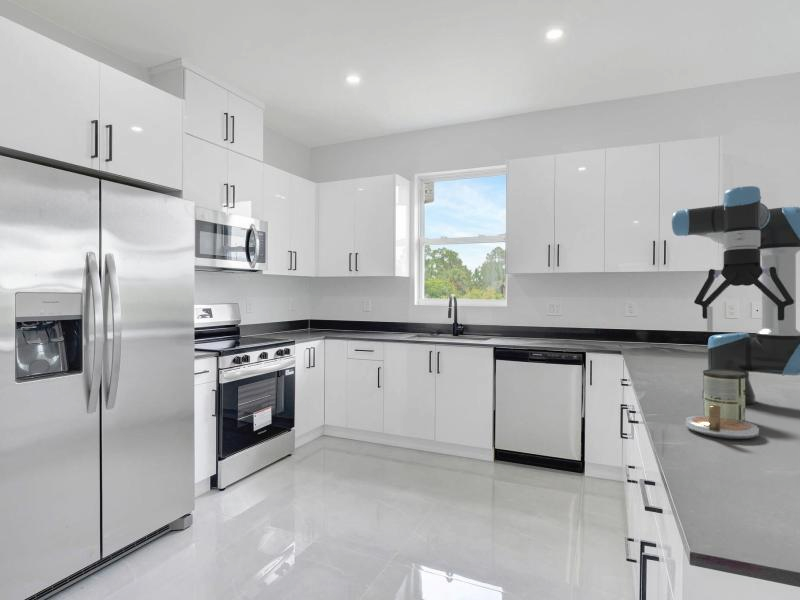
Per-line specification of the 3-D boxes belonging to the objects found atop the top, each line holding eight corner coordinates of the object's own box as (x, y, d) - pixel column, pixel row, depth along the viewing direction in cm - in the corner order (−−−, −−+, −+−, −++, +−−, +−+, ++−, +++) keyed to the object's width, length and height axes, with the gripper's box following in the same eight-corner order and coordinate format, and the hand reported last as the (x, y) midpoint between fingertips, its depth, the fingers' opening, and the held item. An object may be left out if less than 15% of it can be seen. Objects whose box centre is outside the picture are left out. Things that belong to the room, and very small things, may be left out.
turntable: (693, 417, 134) (693, 392, 134) (763, 428, 123) (763, 400, 123) (677, 430, 122) (677, 401, 122) (753, 443, 111) (753, 412, 111)
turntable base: (700, 423, 132) (700, 421, 132) (752, 432, 123) (752, 429, 123) (689, 433, 123) (689, 430, 123) (744, 442, 115) (744, 439, 115)
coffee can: (698, 414, 142) (698, 368, 142) (738, 416, 139) (738, 370, 139) (708, 422, 133) (708, 373, 133) (751, 425, 129) (751, 375, 129)
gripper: (681, 251, 123) (681, 331, 123) (806, 243, 106) (806, 336, 106) (688, 253, 128) (688, 329, 128) (807, 246, 111) (807, 334, 111)
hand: (741, 332), depth 117 cm, fingers open, 13 cm apart
